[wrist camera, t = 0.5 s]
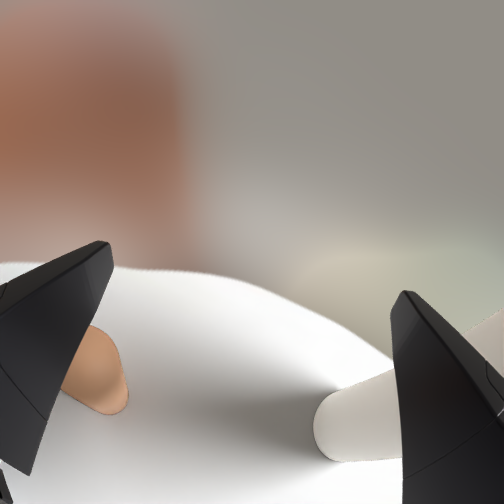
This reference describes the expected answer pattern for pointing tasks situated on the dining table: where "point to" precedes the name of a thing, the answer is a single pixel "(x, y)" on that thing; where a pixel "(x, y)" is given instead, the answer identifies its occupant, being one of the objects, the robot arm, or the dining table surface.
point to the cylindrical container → (385, 406)
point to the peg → (97, 374)
